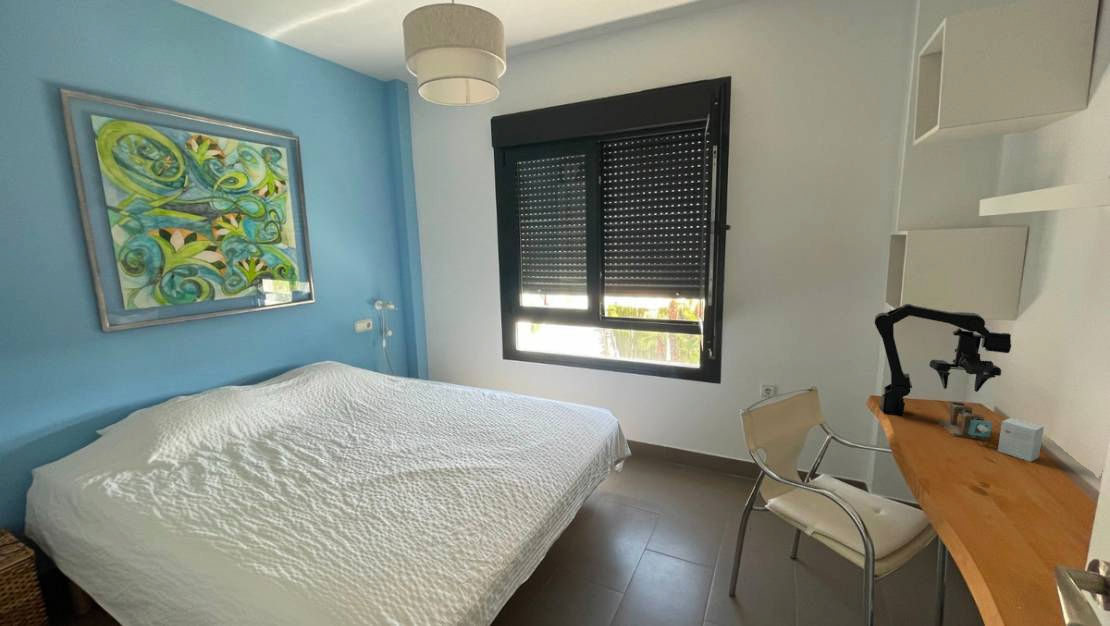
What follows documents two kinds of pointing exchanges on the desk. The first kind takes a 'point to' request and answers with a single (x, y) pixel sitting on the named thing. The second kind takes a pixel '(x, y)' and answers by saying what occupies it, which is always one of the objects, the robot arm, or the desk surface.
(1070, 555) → the desk surface
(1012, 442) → the small box
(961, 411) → the steel shaft
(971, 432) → the teal spacer
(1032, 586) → the desk surface
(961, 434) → the bearing stand
